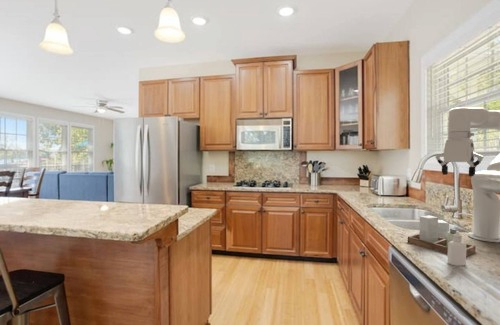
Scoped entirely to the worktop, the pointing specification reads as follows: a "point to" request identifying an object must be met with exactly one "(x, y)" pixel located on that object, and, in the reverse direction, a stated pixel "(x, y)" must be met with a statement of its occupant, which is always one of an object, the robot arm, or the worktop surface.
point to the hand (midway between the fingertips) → (457, 175)
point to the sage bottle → (450, 235)
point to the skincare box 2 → (443, 228)
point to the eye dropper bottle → (456, 251)
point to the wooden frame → (437, 244)
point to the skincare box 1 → (429, 228)
